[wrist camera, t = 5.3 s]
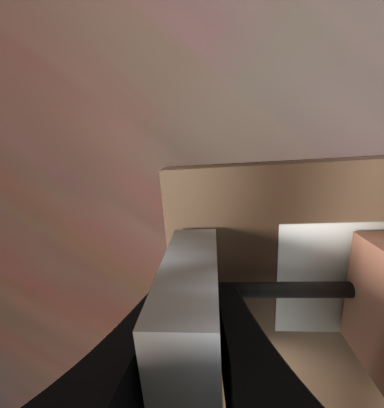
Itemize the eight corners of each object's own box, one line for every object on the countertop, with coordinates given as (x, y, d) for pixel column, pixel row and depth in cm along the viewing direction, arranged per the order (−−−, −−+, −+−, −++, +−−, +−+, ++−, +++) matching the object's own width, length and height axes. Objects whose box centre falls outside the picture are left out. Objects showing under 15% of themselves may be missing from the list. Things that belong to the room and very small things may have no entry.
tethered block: (492, 221, 8) (916, 344, 3) (457, 338, 9) (721, 552, 4) (174, 229, 9) (132, 331, 4) (183, 333, 10) (159, 501, 6)
